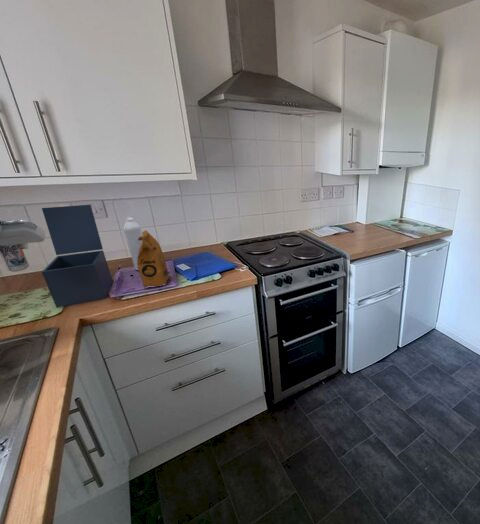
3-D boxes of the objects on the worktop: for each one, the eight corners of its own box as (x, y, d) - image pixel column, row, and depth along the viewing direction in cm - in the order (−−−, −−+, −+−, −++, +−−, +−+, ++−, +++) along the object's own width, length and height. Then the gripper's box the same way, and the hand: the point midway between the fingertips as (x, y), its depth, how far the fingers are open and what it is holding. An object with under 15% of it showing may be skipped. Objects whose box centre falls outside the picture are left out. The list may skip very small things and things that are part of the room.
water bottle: (134, 268, 143) (119, 217, 134) (149, 264, 147) (136, 214, 138) (137, 273, 137) (121, 220, 128) (153, 270, 141) (139, 218, 132)
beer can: (11, 273, 88) (-6, 234, 84) (4, 270, 90) (-13, 232, 86) (33, 267, 92) (17, 230, 88) (25, 265, 94) (10, 228, 90)
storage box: (105, 298, 116) (94, 264, 111) (56, 307, 109) (41, 271, 104) (113, 281, 130) (103, 250, 125) (69, 288, 124) (57, 256, 118)
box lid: (90, 204, 120) (93, 204, 124) (41, 208, 113) (46, 207, 117) (102, 249, 124) (104, 248, 128) (56, 255, 118) (60, 253, 121)
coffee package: (139, 290, 122) (124, 239, 114) (146, 278, 133) (133, 230, 124) (167, 287, 125) (154, 236, 117) (172, 275, 136) (160, 228, 128)
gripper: (30, 210, 83) (56, 235, 95) (-79, 217, 74) (-36, 243, 86) (29, 230, 81) (56, 252, 93) (-84, 239, 72) (-39, 263, 84)
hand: (11, 248), depth 89 cm, fingers closed on beer can, 5 cm apart
